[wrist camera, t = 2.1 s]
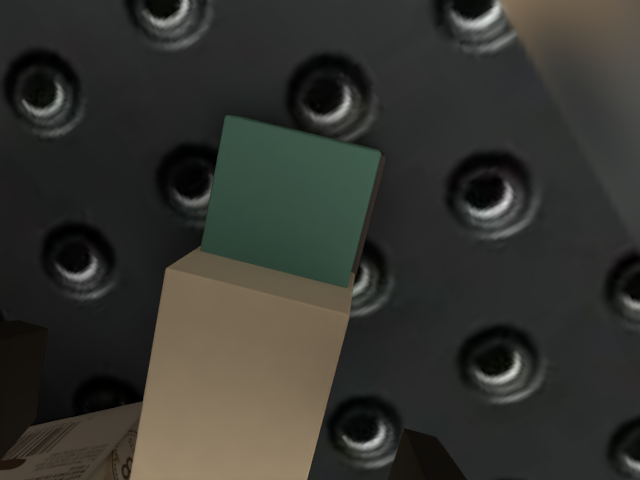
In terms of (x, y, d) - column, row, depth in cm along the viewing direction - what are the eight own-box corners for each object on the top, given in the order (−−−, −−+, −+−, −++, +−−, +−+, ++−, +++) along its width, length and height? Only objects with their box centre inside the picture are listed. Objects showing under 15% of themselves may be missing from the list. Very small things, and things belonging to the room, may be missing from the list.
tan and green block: (301, 480, 17) (277, 604, 12) (180, 447, 17) (113, 558, 13) (387, 150, 14) (394, 157, 10) (244, 116, 15) (189, 108, 10)
